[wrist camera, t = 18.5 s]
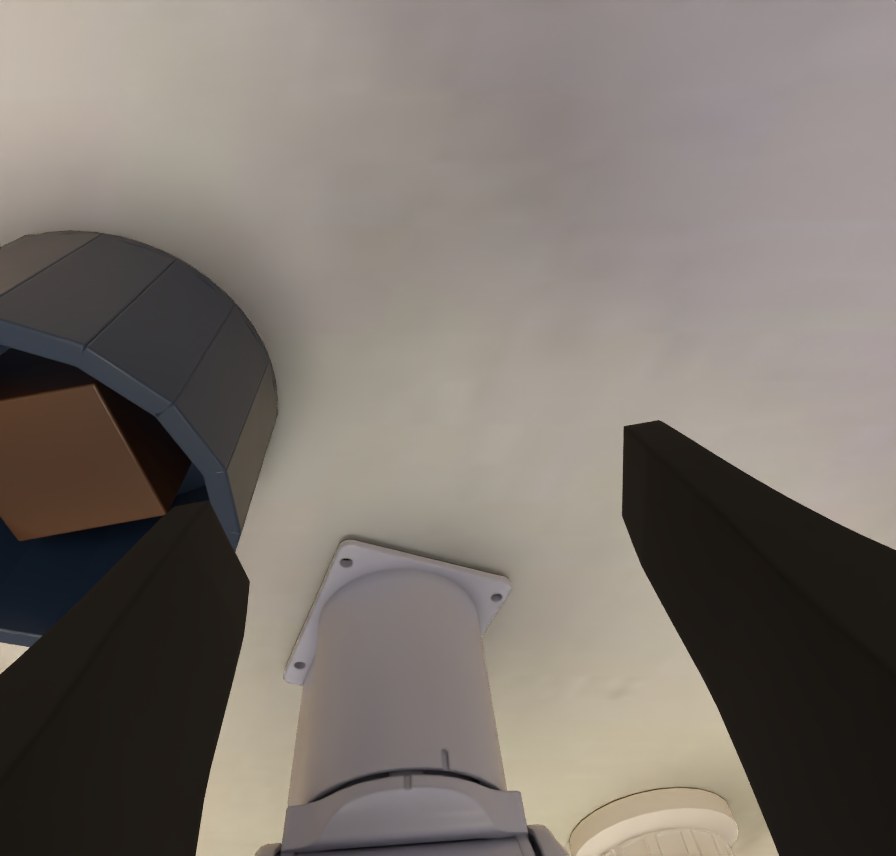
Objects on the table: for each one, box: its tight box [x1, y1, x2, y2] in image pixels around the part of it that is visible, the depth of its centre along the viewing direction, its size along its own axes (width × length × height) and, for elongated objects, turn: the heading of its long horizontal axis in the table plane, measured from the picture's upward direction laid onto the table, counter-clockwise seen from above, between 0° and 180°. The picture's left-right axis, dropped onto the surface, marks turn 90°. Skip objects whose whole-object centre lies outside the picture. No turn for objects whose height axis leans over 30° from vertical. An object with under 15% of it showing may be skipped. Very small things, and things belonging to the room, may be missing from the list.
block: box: [0, 348, 192, 541], centre depth 17 cm, size 4×4×4 cm
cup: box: [0, 231, 278, 647], centre depth 17 cm, size 10×10×7 cm
